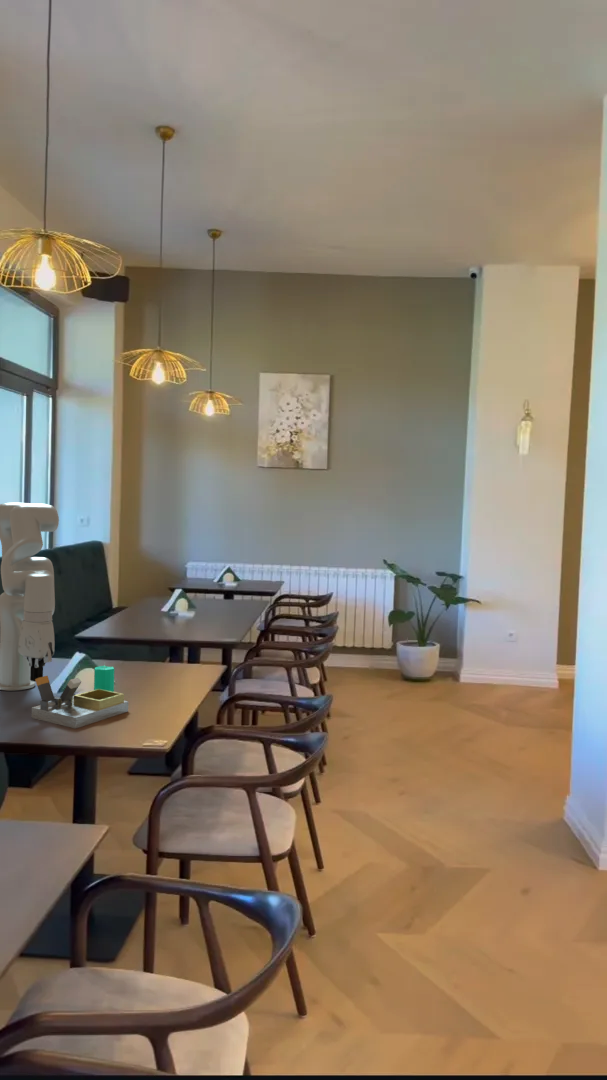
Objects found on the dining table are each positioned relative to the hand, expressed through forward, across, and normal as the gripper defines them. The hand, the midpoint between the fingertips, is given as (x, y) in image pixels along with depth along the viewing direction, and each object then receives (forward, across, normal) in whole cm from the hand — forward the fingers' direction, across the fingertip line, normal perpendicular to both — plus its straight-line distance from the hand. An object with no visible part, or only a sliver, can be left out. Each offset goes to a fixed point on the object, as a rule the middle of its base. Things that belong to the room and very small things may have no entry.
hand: (36, 680), depth 218 cm
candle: (+11, +4, +22) cm, 25 cm away
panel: (+10, +10, +8) cm, 16 cm away
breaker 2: (+6, +6, +5) cm, 10 cm away
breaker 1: (+6, +6, 0) cm, 8 cm away
